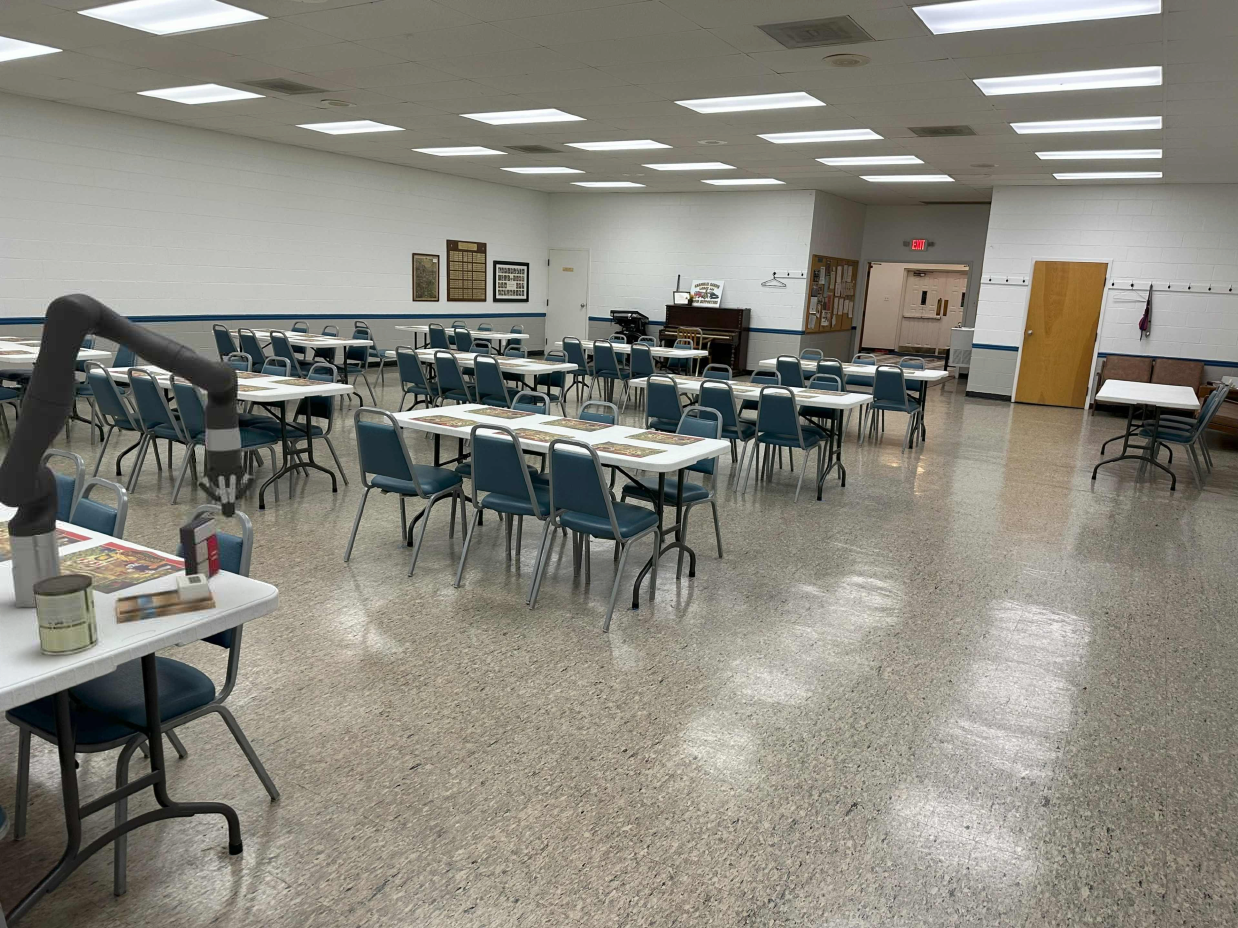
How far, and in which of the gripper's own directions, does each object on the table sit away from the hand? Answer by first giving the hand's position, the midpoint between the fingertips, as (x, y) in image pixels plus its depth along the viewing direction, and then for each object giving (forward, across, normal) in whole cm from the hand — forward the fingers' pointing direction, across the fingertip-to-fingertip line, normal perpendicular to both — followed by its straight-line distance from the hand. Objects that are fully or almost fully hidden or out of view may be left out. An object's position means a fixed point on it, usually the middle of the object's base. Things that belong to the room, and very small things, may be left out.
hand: (228, 516), depth 203 cm
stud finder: (+18, -9, 0) cm, 21 cm away
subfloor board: (+20, -15, 0) cm, 25 cm away
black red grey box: (+20, -5, +18) cm, 28 cm away
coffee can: (+20, -34, -15) cm, 42 cm away
